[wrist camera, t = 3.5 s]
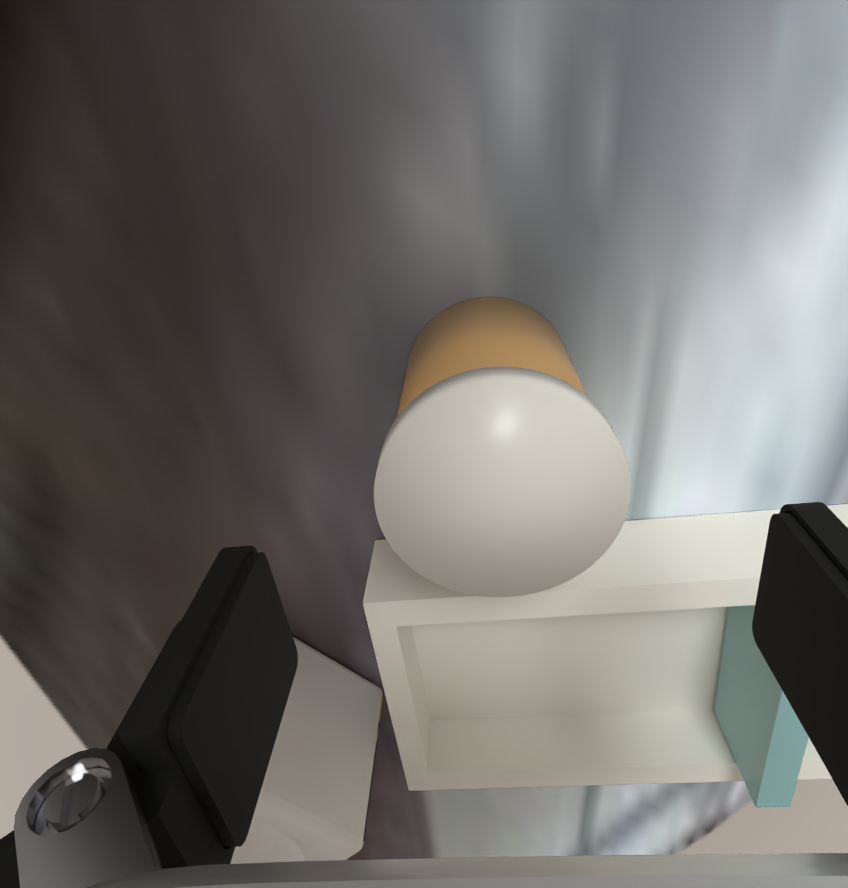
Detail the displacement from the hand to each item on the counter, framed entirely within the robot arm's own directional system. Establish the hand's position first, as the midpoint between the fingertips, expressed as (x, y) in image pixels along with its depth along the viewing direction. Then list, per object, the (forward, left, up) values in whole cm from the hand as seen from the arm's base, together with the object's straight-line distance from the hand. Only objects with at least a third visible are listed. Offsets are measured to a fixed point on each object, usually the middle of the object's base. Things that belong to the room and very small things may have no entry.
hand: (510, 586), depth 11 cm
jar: (0, 0, -10) cm, 10 cm away
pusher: (+12, +11, -9) cm, 18 cm away
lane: (+12, +4, -10) cm, 16 cm away
